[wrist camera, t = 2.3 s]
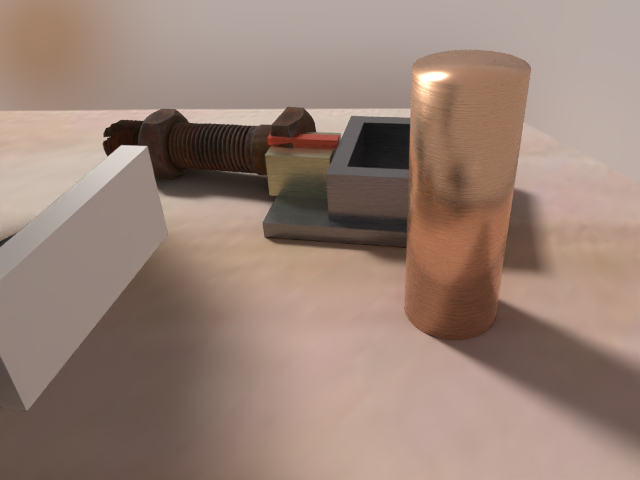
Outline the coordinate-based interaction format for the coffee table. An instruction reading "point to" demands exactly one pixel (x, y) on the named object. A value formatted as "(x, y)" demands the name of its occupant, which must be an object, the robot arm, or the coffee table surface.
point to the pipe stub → (461, 186)
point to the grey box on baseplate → (341, 184)
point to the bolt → (204, 141)
